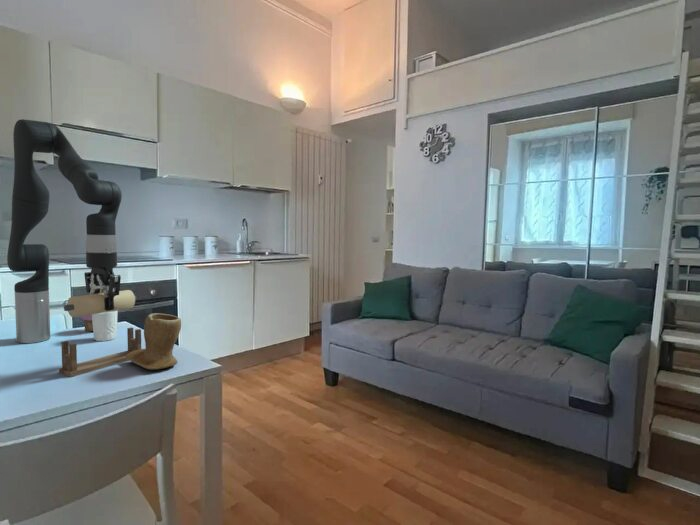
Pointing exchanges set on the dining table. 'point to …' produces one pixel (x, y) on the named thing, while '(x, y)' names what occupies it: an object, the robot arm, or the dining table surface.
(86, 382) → the dining table surface
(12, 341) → the dining table surface
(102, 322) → the white cup
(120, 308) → the cylinder
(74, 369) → the roll stand
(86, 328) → the cupcake
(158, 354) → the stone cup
